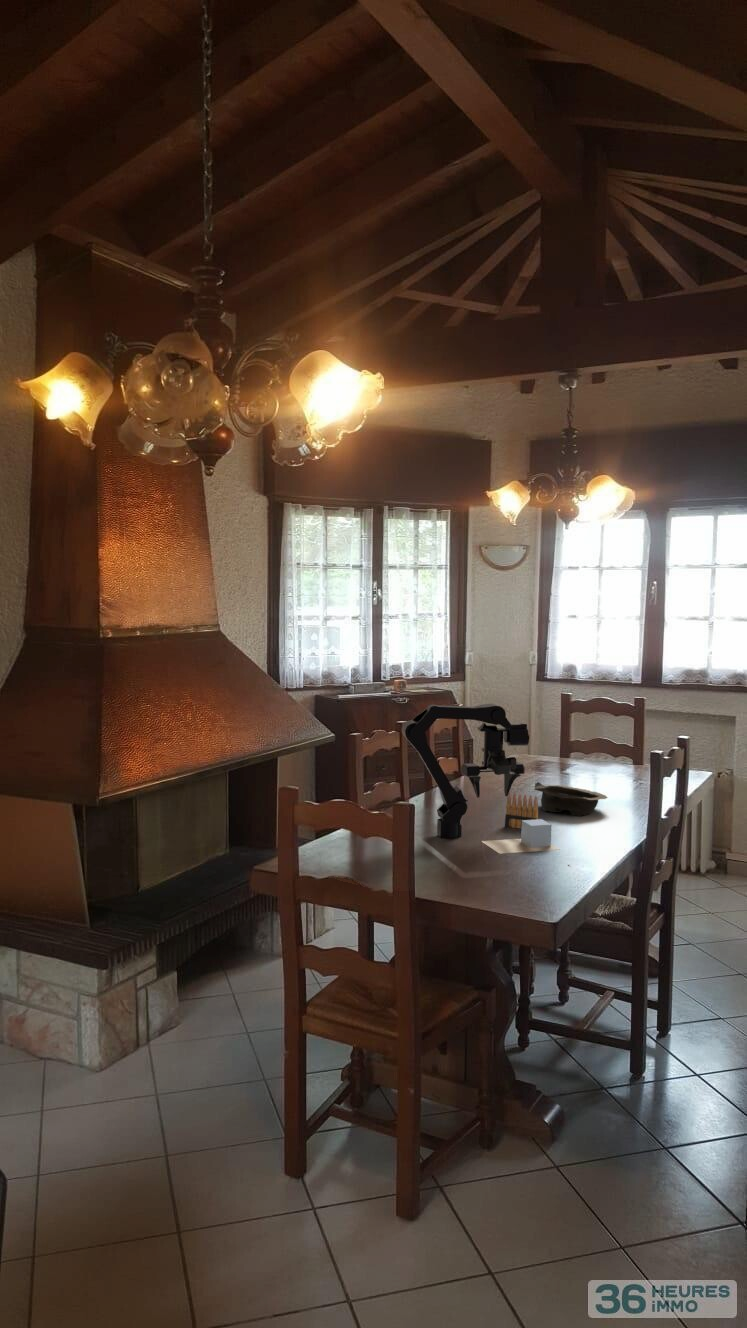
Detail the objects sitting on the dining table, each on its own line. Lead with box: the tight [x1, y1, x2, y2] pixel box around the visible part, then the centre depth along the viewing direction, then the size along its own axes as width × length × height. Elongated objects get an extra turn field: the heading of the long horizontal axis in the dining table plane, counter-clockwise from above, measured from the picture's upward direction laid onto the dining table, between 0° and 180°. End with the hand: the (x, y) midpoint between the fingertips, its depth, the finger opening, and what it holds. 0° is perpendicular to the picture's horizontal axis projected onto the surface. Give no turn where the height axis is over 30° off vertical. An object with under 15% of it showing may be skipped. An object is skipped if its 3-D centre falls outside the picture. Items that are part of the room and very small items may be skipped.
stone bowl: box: [533, 781, 609, 817], centre depth 312 cm, size 25×25×9 cm
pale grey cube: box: [520, 818, 552, 848], centre depth 264 cm, size 6×6×6 cm
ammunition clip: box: [504, 791, 539, 830], centre depth 283 cm, size 11×2×12 cm, turn 60°
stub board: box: [481, 838, 561, 855], centre depth 263 cm, size 19×13×5 cm
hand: (492, 796), depth 273 cm, fingers open, 9 cm apart
